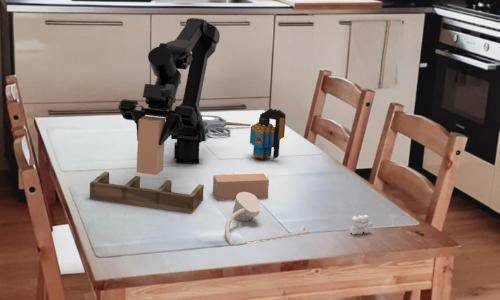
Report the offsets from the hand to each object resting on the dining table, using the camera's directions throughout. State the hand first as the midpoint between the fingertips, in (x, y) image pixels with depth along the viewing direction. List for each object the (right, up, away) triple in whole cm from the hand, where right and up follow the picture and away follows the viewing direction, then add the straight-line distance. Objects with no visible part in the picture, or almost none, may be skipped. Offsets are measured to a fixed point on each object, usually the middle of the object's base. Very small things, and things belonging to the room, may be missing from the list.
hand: (149, 143), depth 197 cm
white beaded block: (+49, -21, -9) cm, 54 cm away
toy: (+29, -4, +40) cm, 50 cm away
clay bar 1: (0, -7, +3) cm, 7 cm away
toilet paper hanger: (+25, -20, -8) cm, 33 cm away
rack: (-1, -14, +4) cm, 14 cm away
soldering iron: (+12, +3, +60) cm, 62 cm away
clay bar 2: (+22, -13, +10) cm, 27 cm away
